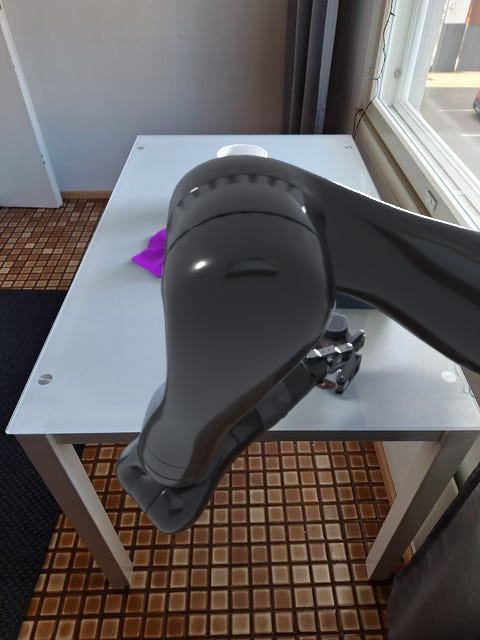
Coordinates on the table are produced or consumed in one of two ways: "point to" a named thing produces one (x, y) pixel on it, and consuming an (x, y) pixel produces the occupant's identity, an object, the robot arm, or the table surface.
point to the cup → (241, 150)
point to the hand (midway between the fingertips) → (341, 324)
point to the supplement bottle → (335, 340)
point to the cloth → (153, 254)
